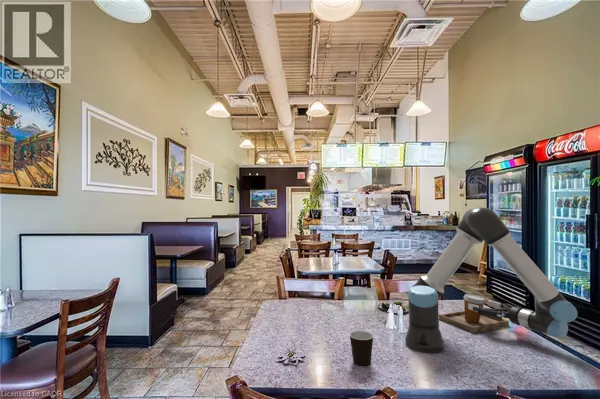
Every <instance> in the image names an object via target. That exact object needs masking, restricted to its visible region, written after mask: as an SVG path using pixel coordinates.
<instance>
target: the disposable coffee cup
mask: <svg viewBox="0 0 600 399" xmlns="http://www.w3.org/2000/svg"><path fill="white" fill-rule="evenodd" d="M463 302H464V303H463V304H464V309H463V311H465V320H466V321H468V322H472V323H479V320H480V317H481V315H480V314H478V312H476V311H473V310H470V309H468V303H470V304H474V305H477V306H480V307H481V308H484V306H485V303H486V301H485V298H484V297H482V296H479V295H476V294H471V293H465V294H464V296H463Z"/></svg>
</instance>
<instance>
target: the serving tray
mask: <svg viewBox="0 0 600 399" xmlns="http://www.w3.org/2000/svg"><path fill="white" fill-rule="evenodd" d="M439 321H441V322H444V323H446V324H449V325H451V326H454V327H456V328H459V329H462V330H463V331H466V332H469V333H471V334H477V333H480V332H481V333H482V332H486V331H491V330H495V329H500V328H505V327H509V326H510V320H509V319H506V318H502V319H500V318H496V317H491V316H486V315H481V317H480V320H479V323H472V322H468V321H466V320H465V311H464V310H459V311H455V312H447V313H441V314H439Z"/></svg>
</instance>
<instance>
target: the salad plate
mask: <svg viewBox="0 0 600 399" xmlns="http://www.w3.org/2000/svg"><path fill="white" fill-rule="evenodd" d="M393 302H394V304H396V305H400V306H402V309H403V314H402V315H405V314H409V305H405V304H404V302H401V301H400V300H399V301H397V302H396V301H393ZM388 303H389V302H384V301H382V302H381V304H378V305H376V307H378V308H379V310H380V309H381V310H380V311H382V310H383V311H382V312H384V311H386V312H385V313H388V312H387V311H388V309H389V304H388ZM405 308H406V309H405Z"/></svg>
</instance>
